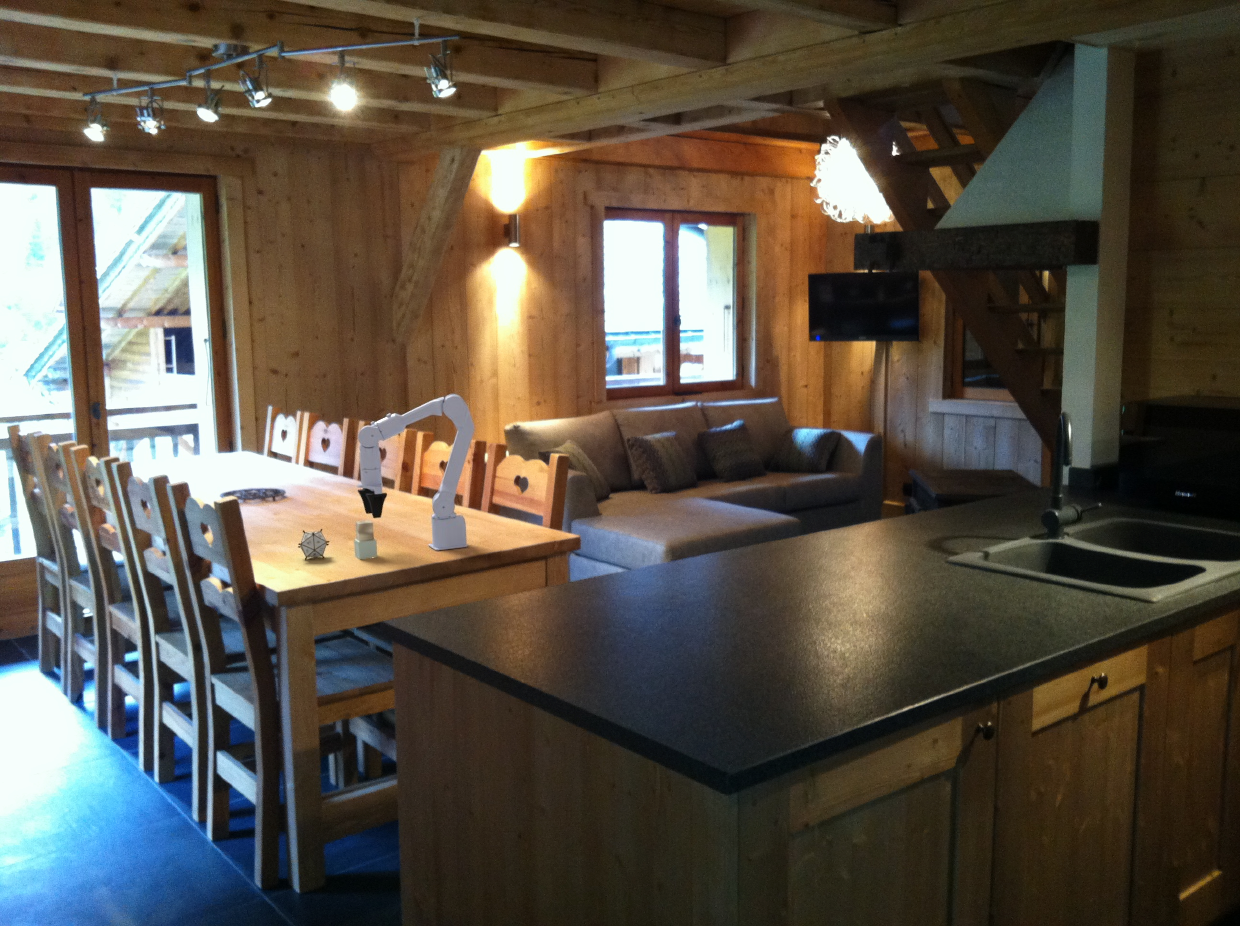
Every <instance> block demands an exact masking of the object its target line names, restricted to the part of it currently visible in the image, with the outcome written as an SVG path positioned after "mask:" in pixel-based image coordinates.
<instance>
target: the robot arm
mask: <svg viewBox="0 0 1240 926" xmlns="http://www.w3.org/2000/svg"><path fill="white" fill-rule="evenodd" d="M443 413H444V415H445V416H446V417H447V418H448V419H449V420H451V421H452V423H453V425H454V426H455V428H456V429H457V431H456V434H455V438H454V441H453V445H452V448H451V451H450V454H449V458H448V460H447V465H446V467H445V470H444V473H443V477H442V479H441V482H440V485H439V488H438V491H437V492H436V493H435V494H434V496H433V497H432V501H431V504H432V512H433V513H432V514H431V516H430V517H431V535H432V536H431V537H432V543H428V547H430V548H432V549H433V550H434V551H445V550H451V549H458V548H467V547H468V542H467V540H468V539H467V523H466V519H465V517H464V515H461V514H457V513H456V512H455V510H456V509H455V508H456V505H455V498H456V496H457V495H456V494H457V490H458V489H457V488H458V487H459V482H460V478H461V476H462V472H463V469H464V465H465V462H466V461H467V460H466V459H467V456H468V452H469V449H470V446H471V442H472V440H473V437H474V433H475V430H476V429H475V428H476V427H475V424H474V421H473V418H472V415H471V411H470V408H469V406H468V404H467V403H466V401H465V400H464V399H463V397H462V396H460V395H459V394H456V393H450V394H448V395H446V396H445V397H444V396H442V397H438V398H434V399H432V400H430V401H428V402H426V403H423V404H422V405H420V406H418V407H415V408H413V409H411V410H410V411H407V412H406V413H404V414H399V413H395V412H394V413H390V412H389V413H388V414H386V416H385V417H384V418H381V419H379V420H377V421H374V420H373V421H371V422H370V425H369V424H367V425H364V426H363V427H362V428H361V429H360V430H359V432H358V433H357V439H358V442H359V446H358V447H359V465H360V466H359V469H360V482H361V483H359V484H357V485H356V487H357V488H359V489H357V492H358V494H359V496H360V499H361V500H362V503H363V508H364V511H365V514H367V515H369V514H370V515H371V516H372V518H373V519H378V518H379V519H380V518H382V514H383V508H384V505H385V504H384V503H385V501H386V498H387V496H388V493H387V492H383V486H384V485H383V480H382V479H383V478H382V462H381V461H382V460H381V451H380V445H379V442H380V441H386V440H388V439H389V440H390V439H391V438H393V437H395V436H397V435H400V434H401V433H403V432H405V429H406V426H408V425H410V424H413V423H416V422H419V421H420V420H423V419H425V418H427V417H430V416H432V415H433V416H439V417H440V416H441V417H442V416H443ZM361 488H362V489H361Z"/></svg>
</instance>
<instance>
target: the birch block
mask: <svg viewBox="0 0 1240 926" xmlns="http://www.w3.org/2000/svg"><path fill="white" fill-rule="evenodd" d="M354 523H355V536H356V538H355V539H357V540H358V541H359V542H362V541H371V540H374V539H375V538H374V537H375V535H374V521H372V520H370V519H366V520H357V521H355V522H354Z"/></svg>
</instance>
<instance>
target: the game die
mask: <svg viewBox="0 0 1240 926" xmlns="http://www.w3.org/2000/svg"><path fill="white" fill-rule="evenodd" d="M302 533H303V536H302V539H301V542H299V543H298V544H297V545H298V546H297V548H298V549H301V551H302V552H303V554H304V556H305V557H304V561H306V560H307V559H308V558H309V559H310V558H318V557H319V558H320V557H322V559H324V558H325V556H324V554H325V551H326V548H327V546H329V543H330V540H327V539H326V538H325V536H324V534H323V528H321V529H320V531H319V530H317V531H316V530H315V531H305V530H304V529H303V530H302Z"/></svg>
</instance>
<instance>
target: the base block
mask: <svg viewBox="0 0 1240 926" xmlns="http://www.w3.org/2000/svg"><path fill="white" fill-rule="evenodd" d="M353 540H354V541H353V543H354V557H355V558H357V559H358V560H359V559H362V560H367V559H366V558H370V559H373V558H372V557H377V558H378V546H377V539H375V538H374V540H371V541H362V542H359V541H358V540H357V539H356V538H353Z"/></svg>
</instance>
